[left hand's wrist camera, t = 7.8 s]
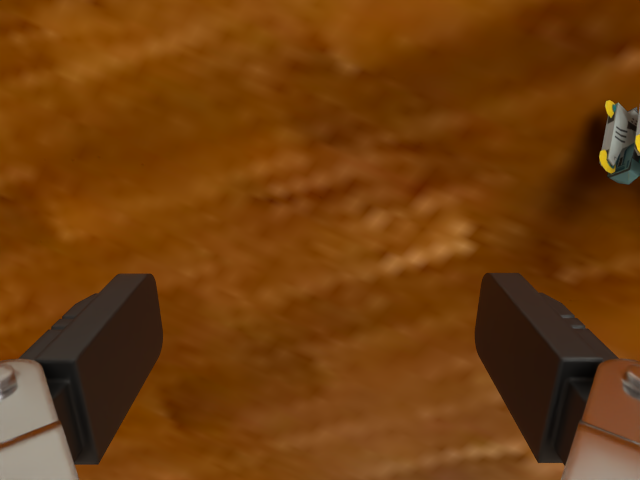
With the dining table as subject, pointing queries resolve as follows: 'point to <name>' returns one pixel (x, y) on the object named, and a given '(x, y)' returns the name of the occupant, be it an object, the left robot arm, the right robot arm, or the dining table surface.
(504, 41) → the dining table surface
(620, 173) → the figurine
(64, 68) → the dining table surface
